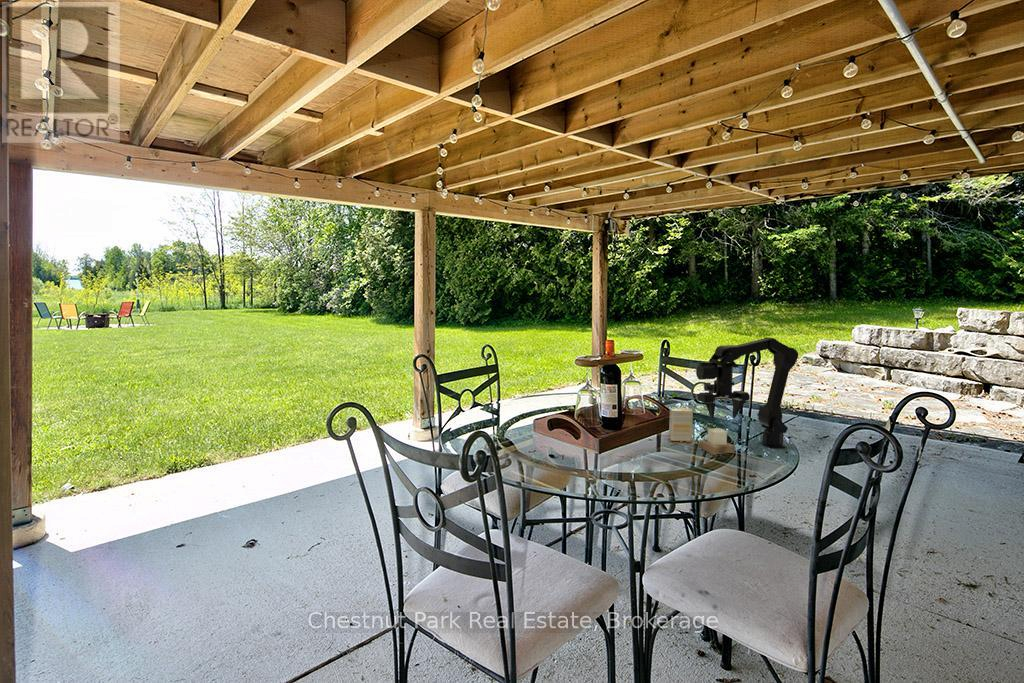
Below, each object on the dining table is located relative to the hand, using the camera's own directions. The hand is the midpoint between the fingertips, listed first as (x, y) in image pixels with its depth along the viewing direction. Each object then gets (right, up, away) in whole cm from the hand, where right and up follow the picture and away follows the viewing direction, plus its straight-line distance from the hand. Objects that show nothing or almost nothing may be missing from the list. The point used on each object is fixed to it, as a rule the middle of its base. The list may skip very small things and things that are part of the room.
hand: (723, 418), depth 198 cm
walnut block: (-4, -12, -3) cm, 13 cm away
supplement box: (-14, -11, +10) cm, 20 cm away
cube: (-4, -9, -4) cm, 10 cm away
